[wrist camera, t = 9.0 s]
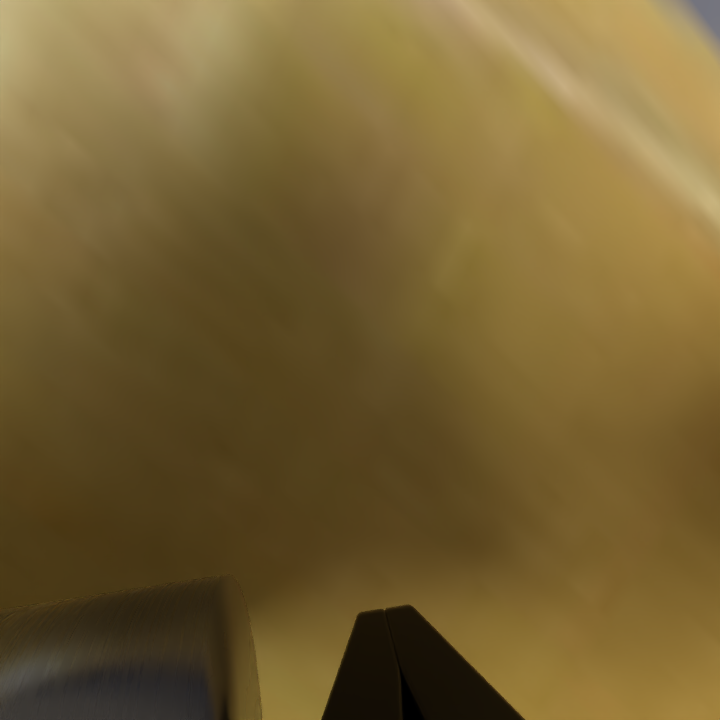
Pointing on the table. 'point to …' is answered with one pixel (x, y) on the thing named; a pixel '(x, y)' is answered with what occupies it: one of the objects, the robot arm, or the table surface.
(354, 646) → the robot arm
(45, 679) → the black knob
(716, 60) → the table surface
